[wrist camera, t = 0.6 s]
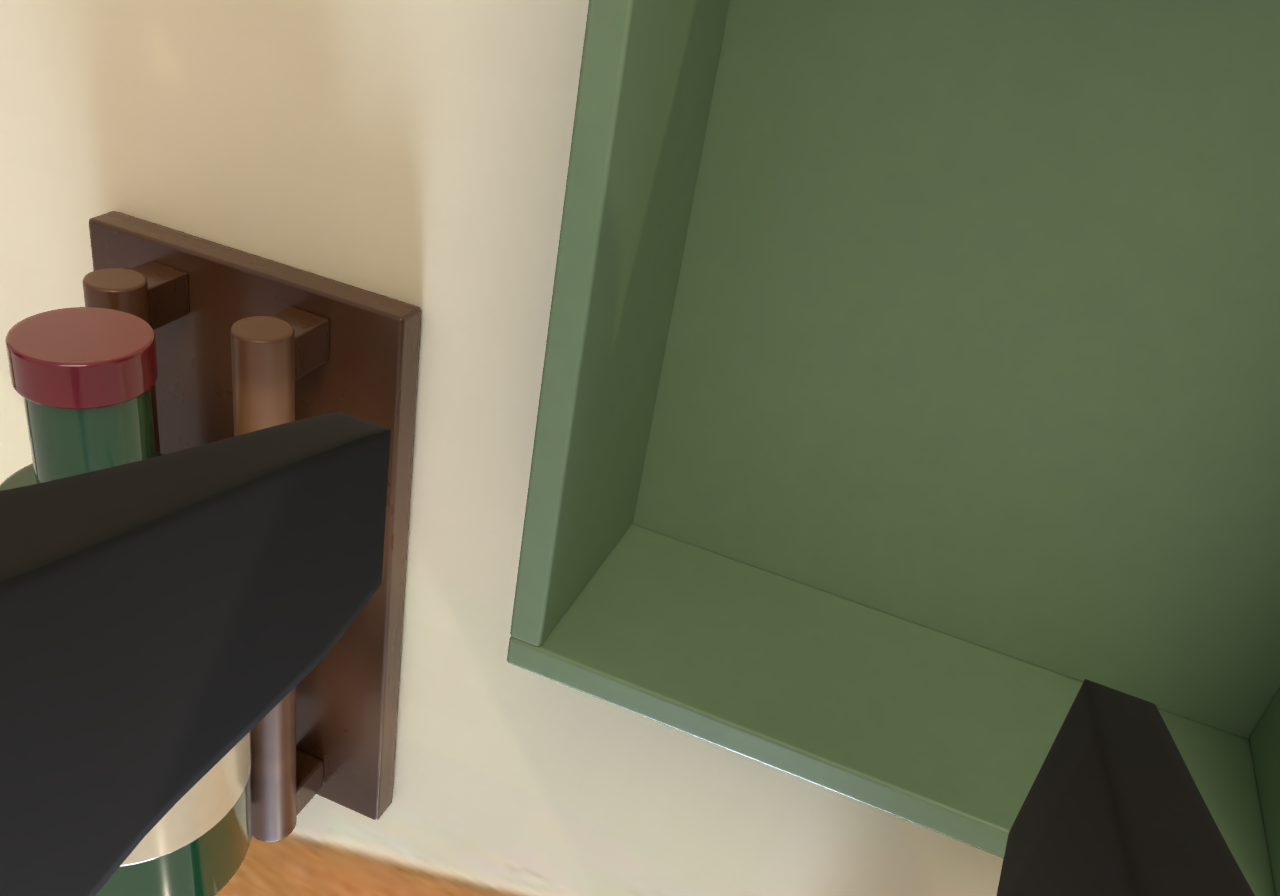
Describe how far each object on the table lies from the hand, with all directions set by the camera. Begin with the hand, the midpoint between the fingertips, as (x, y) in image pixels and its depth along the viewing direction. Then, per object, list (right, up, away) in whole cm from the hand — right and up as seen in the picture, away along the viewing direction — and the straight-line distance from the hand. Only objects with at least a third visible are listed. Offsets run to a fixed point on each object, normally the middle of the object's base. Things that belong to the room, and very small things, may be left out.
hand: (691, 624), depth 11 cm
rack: (-10, 0, +17) cm, 19 cm away
